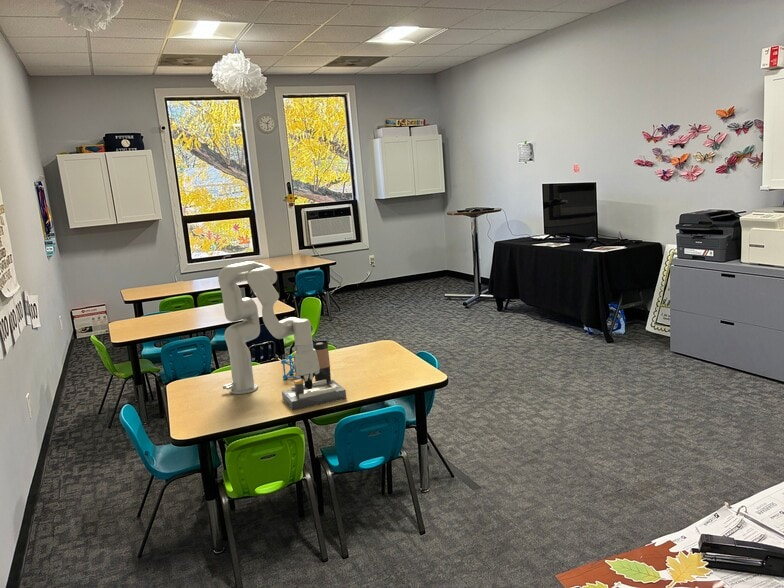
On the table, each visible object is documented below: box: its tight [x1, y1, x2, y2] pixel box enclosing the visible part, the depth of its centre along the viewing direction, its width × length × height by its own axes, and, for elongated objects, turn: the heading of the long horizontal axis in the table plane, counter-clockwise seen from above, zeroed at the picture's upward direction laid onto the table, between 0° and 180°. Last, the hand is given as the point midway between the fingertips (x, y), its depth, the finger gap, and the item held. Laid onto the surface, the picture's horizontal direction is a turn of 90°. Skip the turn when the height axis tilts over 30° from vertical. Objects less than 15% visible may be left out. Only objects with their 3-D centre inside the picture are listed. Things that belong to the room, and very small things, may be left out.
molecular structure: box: [280, 354, 303, 380], centre depth 290 cm, size 10×10×10 cm
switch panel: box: [281, 379, 347, 411], centre depth 257 cm, size 24×16×5 cm, turn 115°
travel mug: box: [313, 340, 332, 382], centre depth 275 cm, size 8×8×20 cm
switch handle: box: [293, 378, 304, 394], centre depth 254 cm, size 3×3×5 cm
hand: (309, 388), depth 256 cm, fingers closed
